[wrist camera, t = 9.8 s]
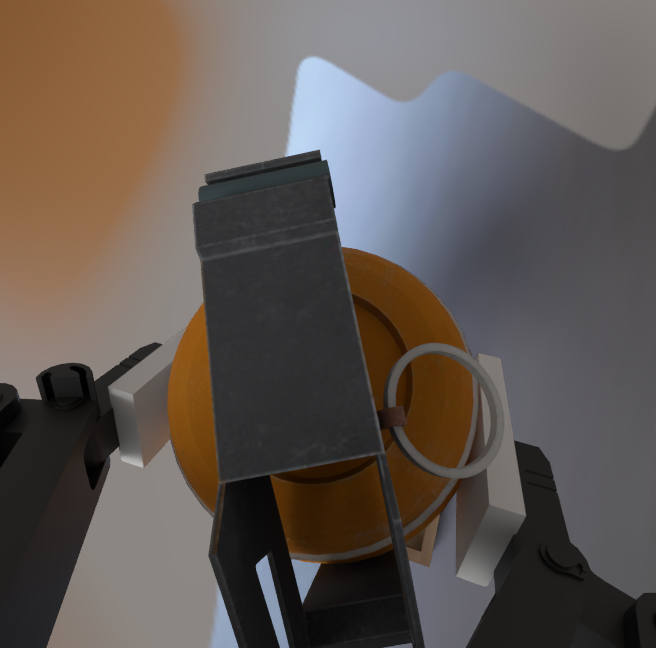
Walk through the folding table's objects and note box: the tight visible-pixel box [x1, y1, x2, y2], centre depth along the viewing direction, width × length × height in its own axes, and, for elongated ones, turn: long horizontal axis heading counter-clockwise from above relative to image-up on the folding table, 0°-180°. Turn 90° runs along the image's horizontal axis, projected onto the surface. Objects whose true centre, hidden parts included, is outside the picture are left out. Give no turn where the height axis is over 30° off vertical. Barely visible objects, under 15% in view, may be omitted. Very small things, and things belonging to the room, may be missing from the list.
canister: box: [167, 150, 504, 648], centre depth 15 cm, size 9×11×20 cm
